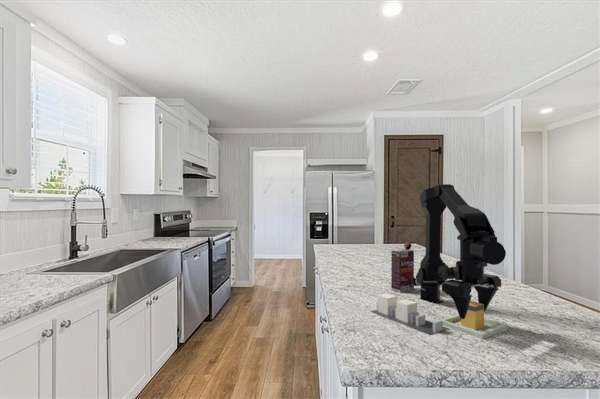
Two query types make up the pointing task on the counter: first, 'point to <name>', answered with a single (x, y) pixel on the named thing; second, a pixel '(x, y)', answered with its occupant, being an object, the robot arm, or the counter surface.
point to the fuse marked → (474, 316)
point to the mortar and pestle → (408, 246)
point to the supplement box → (402, 270)
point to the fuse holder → (415, 321)
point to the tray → (481, 335)
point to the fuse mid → (405, 309)
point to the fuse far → (386, 303)
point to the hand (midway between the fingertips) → (472, 315)
